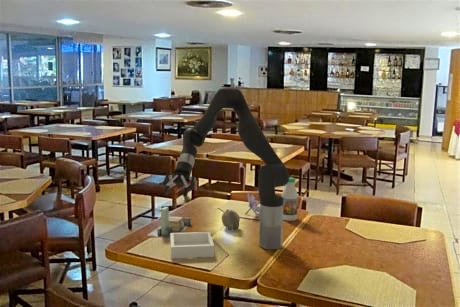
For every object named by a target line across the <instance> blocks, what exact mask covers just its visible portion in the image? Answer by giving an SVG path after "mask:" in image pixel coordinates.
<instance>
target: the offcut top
mask: <svg viewBox="0 0 460 307" xmlns="http://www.w3.org/2000/svg"><path fill="white" fill-rule="evenodd" d="M180 217H181V216H177V217H169V225H175V226H179V225H180V224H181V223H182V218H180Z"/></svg>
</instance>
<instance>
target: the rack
mask: <svg viewBox="0 0 460 307" xmlns="http://www.w3.org/2000/svg"><path fill="white" fill-rule="evenodd" d="M169 217H178V216H176V215H169ZM179 217H180V218H182V222H184V227H182V228H181V229H180V230H179V231H177V230H172V226H169V227H168V228H166V229H165V235H162V234H161V225H159V226H158V227H157V228H155V229H153V230H152V231H151V232H149V233H148V234H147V235H146V236H149V237H156V238H158V237H159V238H165V239H170V233H183V231H184V232H185V230H186V229H187V228H189V227H190V226H191V225H192V218H191V217H186V216H179Z"/></svg>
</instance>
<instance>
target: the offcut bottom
mask: <svg viewBox="0 0 460 307" xmlns="http://www.w3.org/2000/svg"><path fill="white" fill-rule="evenodd" d="M169 226H172V230H177V231H179V230H180V229H181V228H182V227H184V222H182V223H181V224H180V225H179V226H175V225H169Z"/></svg>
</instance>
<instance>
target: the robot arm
mask: <svg viewBox="0 0 460 307" xmlns="http://www.w3.org/2000/svg"><path fill="white" fill-rule="evenodd" d="M223 109H227V110H233V111H234V112H235V114H236V116H237V118H238V126H237V133H238V135H239V138H240V139H241V141H242V143H243V145H244V146H245V147H246V148H247V149H248V150H249V151H250V152H251V153H253V154H254V155H255V156H256V157H258V158H260V159H261V161H263V163H264V165H262V166H261V167H260V168H259V170H258V176H257V177H258V178H257V182H258V184H257V185H258V198H259V201H260V203H259V207H260V213H259V215H260V218H259V231H258V233H259V236H258V237H259V239H258V240H259V241H258V243H259V244H258V246H259V247H261V248H262V249H265V250H280V249H281V248H282V247H283V227H284V226H283V224H284V220H283V197H282V195H278V194H276V188H279V187H283V186H284V187H285V185H286V184H287V183H288V181H289V177H290V173H289V171H288V168H287V167H286V165H285V164H284V162H283V161H282V159H280V157H279V156H278V154H277V153H276V151H275V150H274V149H273V147H272V146H271V144H270V142H269V141H268V139H267V138H266V135H265V134H264V132H263V130H262V128H261V127H260V124H258V122H257V121H256V118H255V117H254V114H253V113H252V112H251V110H250V108H249V104H248V103H247V101H246V98H245V96H244V94H243V92H242V91H241V90H240V89H239V88H237V87H227V86H223V87H220V88H219V89H218V90H217V91H216V93H215V94H214V96H213V98H212V100H211V102H210V103H209V105H208V107H207V108H206V111H205V112H204V114H203V115H202V116H201V117H200V119H199V120H198V121H197V122H196V123H195V125H194V128H193V127H188V128H186V129H185V130H184V131H183V137H182V150H181V152H180V156H178V160H177V163H176V165H175V168H174V172H173V174H170V173H166V174H165V177H164V179H163V182H162V185H163V187H164V188H165V189H164V191H163V193H164V194H165V196H169V193H170V190H171V188H172V187H174V186H176V185H177V186H179V185H180V186H185V187H184V189H183V192H182V197H183V198H186V197H187V196H188V195H189V191H190V190H194V189H195V185H196V181H197V178H196V176H195V175H192V171H193V168H194V166H195V161H196V160H195V159H196V157H197V154H198V148H200V147H202V146H203V145H204V143H205V142H206V138H207V136H208V134H209V132H210V131H212V129H213V128H214V126H215V125H216V123H217V118H218V117H217V115H218V113H219V112H220V111H222V110H223ZM191 175H192V176H191ZM189 181H190V184H189V185H188V182H189Z"/></svg>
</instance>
